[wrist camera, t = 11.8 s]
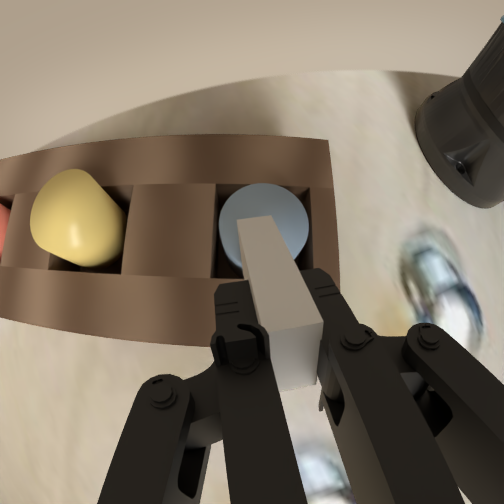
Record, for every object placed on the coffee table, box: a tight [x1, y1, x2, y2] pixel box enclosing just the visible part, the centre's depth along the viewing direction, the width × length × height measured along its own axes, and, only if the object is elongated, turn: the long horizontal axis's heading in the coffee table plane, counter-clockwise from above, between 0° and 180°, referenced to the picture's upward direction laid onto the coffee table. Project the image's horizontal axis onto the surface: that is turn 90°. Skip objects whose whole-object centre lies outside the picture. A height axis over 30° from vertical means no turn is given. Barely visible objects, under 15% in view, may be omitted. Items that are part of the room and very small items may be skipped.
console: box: [0, 134, 340, 347], centre depth 19 cm, size 28×12×8 cm, turn 89°
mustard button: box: [30, 169, 128, 270], centre depth 14 cm, size 4×4×4 cm
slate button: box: [219, 183, 309, 278], centre depth 17 cm, size 4×4×4 cm
